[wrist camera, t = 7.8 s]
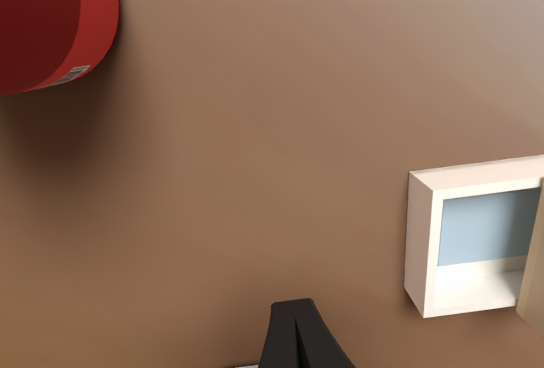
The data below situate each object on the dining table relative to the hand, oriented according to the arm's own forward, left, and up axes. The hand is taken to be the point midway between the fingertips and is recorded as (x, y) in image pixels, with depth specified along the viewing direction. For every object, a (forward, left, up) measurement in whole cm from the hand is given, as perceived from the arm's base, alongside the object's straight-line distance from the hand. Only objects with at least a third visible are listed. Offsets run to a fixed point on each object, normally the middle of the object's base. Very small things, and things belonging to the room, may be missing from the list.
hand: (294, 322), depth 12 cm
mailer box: (-4, -14, -10) cm, 18 cm away
